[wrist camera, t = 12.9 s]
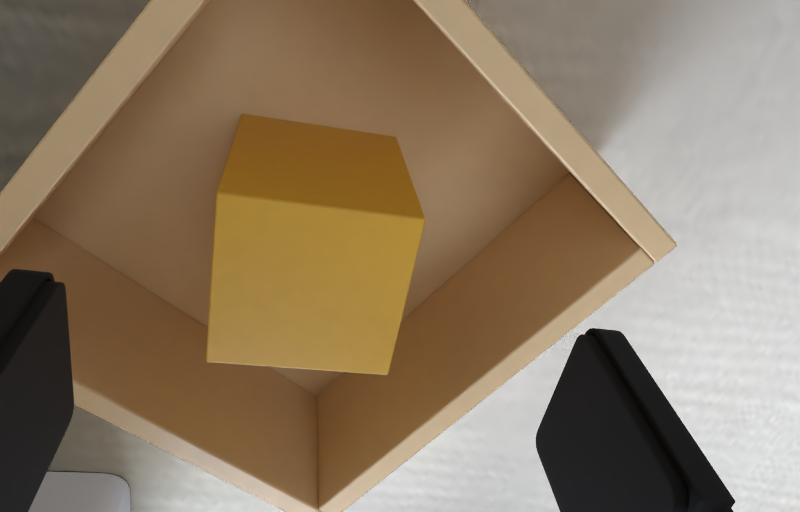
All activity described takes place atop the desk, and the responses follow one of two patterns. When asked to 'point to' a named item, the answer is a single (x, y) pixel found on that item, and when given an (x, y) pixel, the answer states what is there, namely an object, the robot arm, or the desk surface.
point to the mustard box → (311, 248)
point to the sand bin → (195, 216)
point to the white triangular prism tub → (82, 493)
